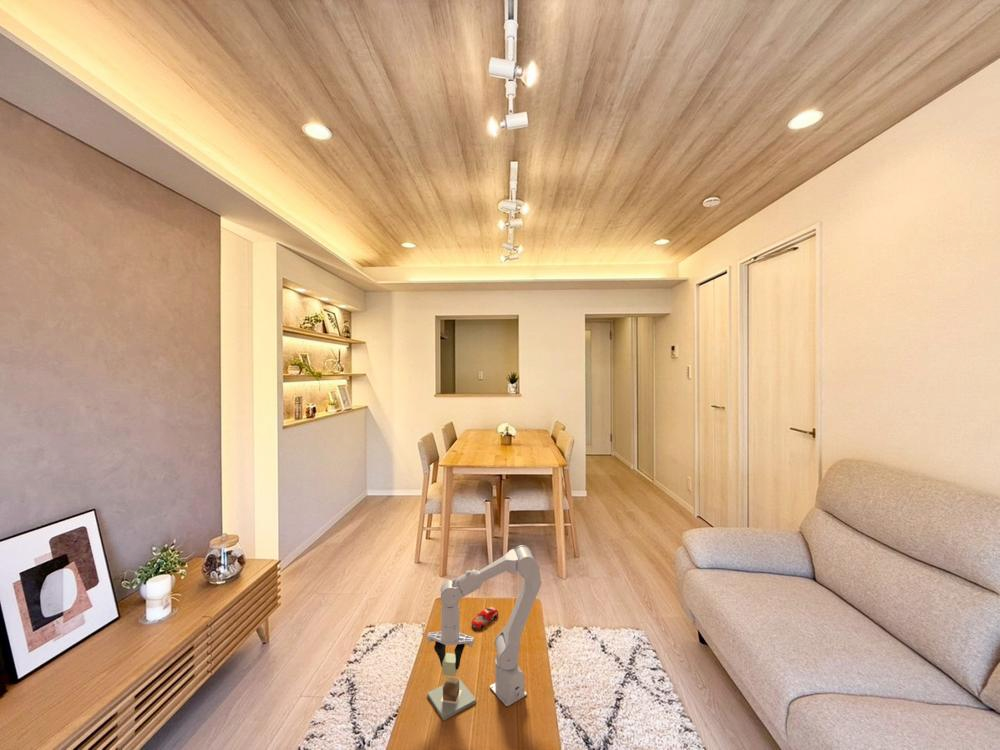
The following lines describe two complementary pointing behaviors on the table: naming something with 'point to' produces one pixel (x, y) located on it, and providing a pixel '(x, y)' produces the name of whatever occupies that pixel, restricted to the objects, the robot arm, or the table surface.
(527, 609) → the robot arm
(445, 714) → the baseplate
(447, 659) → the sage cube
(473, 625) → the race car
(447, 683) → the walnut cube
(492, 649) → the table surface
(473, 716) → the table surface
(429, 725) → the table surface
